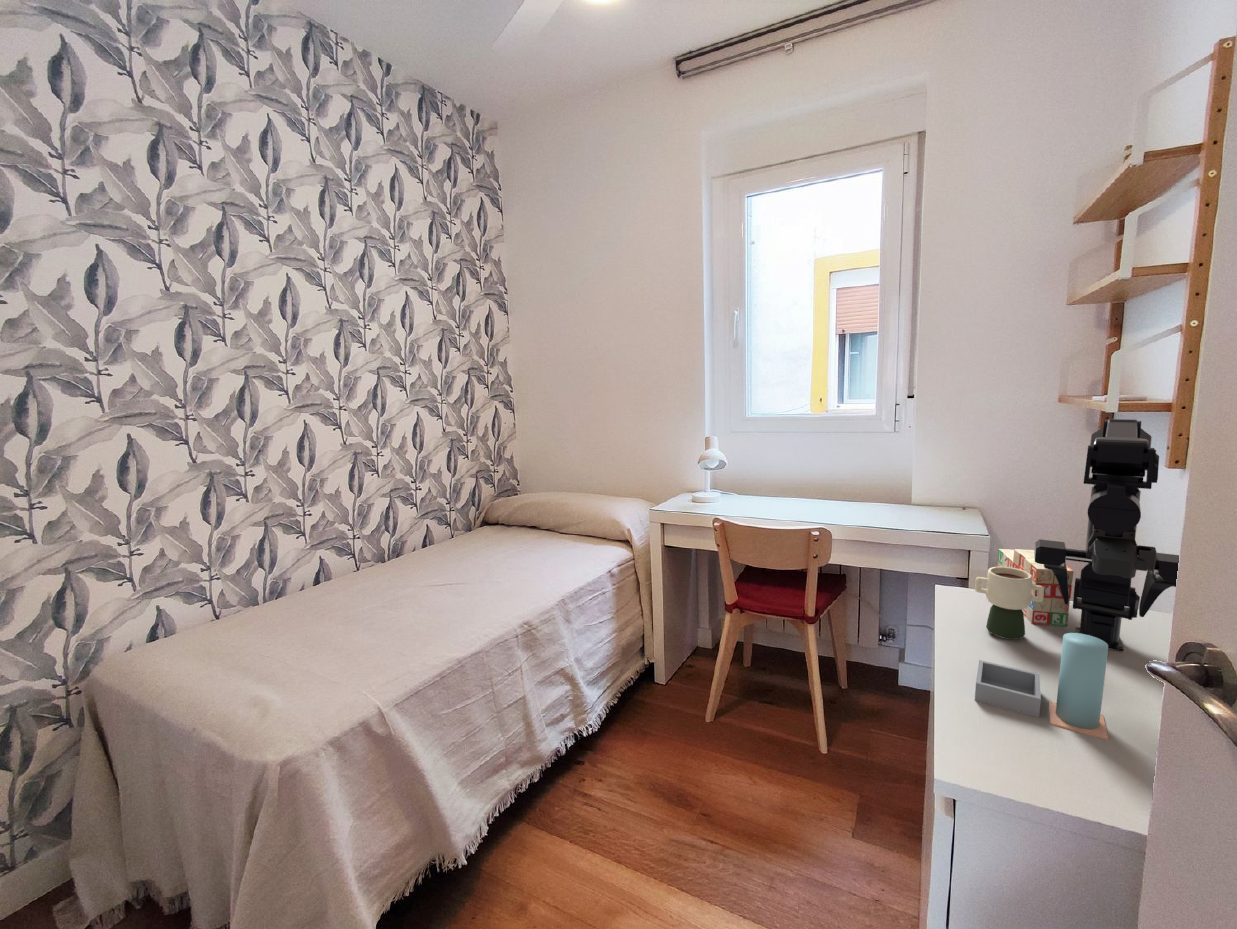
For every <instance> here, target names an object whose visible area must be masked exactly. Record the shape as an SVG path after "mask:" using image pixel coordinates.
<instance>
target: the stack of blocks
mask: <svg viewBox="0 0 1237 929" xmlns="http://www.w3.org/2000/svg"><path fill="white" fill-rule="evenodd" d="M997 551H998V552H997V567H1011V568H1016V569H1020V570H1023V571H1026V572H1028V573H1030V574H1031V575H1032V585H1039V586H1042V587H1044V597H1043V601H1042V602H1035V601H1030V604H1029V606H1028V608H1026V609H1022V611H1023V614H1024V618H1026V619H1027V621H1028V622H1029V623H1031V625H1041V626H1054V627H1068V621H1069V616H1070V615H1069V610H1070V603H1071V597H1072V596H1071V595H1072V588H1073V578H1074V570H1073V569H1072V568H1070V567H1069V566H1068V565H1066V567H1067V580H1068V593H1069V600H1068V605H1067V604H1065V603H1064V599H1063V596H1062V593H1061V589H1060V586H1059V583H1058V581H1057V578H1056V576H1055V574H1054V573H1053V571H1052V570H1050V569H1046V568H1044V564H1039V563H1036V562H1035V557H1034V551H1035V549H1021V548H1015V549H1010V548H1009V549H1008V548H1007V549H1005V548H1003V549H1002V548H999V549H998V550H997ZM1037 592H1038V591H1037V590H1033V589H1031V596H1034V597H1037Z"/></svg>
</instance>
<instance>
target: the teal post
mask: <svg viewBox="0 0 1237 929" xmlns="http://www.w3.org/2000/svg"><path fill="white" fill-rule="evenodd" d="M1061 644H1062V645H1061V655H1060V664H1059V674H1058V675H1059V676H1058V685H1057V694H1056V703H1057V704H1056V715H1057V717H1058V718H1060V719H1061V720H1062V721H1064V722H1066V723H1068V724H1070V725H1072V726H1075V727H1078V728H1083V729H1096V728H1098V727H1099V723H1100V714H1102V713H1101V712H1102V706H1103V697H1104V696H1103V695H1104V686H1105V678H1106V668H1107V661H1108V652H1109V651H1108V650H1109V648H1108V644H1107V643H1106V642H1104V641H1103V640H1101V639H1099V638H1096V637H1093V636H1090V635H1086V634H1080V633H1076V632H1067V633H1064V634H1063V635H1062V643H1061Z"/></svg>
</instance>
